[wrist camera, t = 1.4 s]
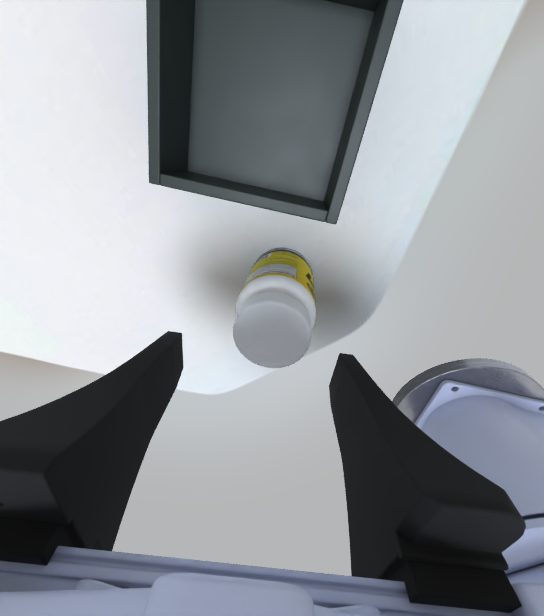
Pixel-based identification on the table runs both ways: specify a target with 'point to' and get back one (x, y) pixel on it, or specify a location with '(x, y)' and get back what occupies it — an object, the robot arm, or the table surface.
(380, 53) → the storage tray
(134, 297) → the table surface
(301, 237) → the table surface
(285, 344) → the supplement bottle
